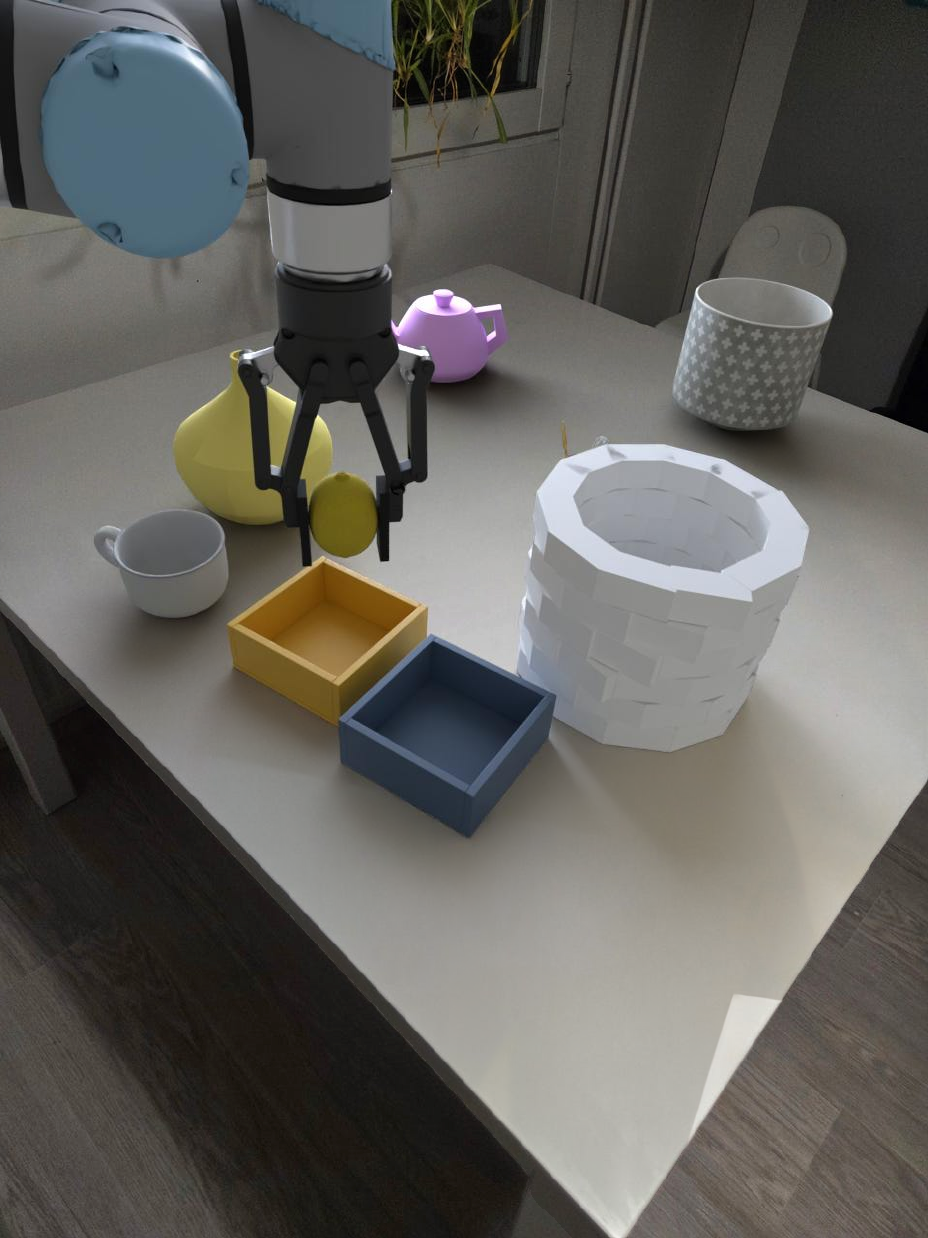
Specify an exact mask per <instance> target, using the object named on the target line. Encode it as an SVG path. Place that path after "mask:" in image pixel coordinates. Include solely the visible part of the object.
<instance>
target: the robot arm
mask: <svg viewBox="0 0 928 1238" xmlns="http://www.w3.org/2000/svg"><path fill="white" fill-rule="evenodd" d="M392 20H393V18H392V1H391V0H0V207H6V208H12V209H18V210H26V211H31V212H35V213H36V212H37V213H40V214H46V215H53V216H59V217H64V218H70V219H77V220H79V221H80V222H81V224H83V225H84V226H85V227H86V228H88V229H89V230H90V231H91V232H93V234H95V235H96V236H97V237H99V238H100V239H101V240H103V241H105V242H107V243H108V244H111V245H112V246H114V247H116V248H118V249H120V250H123V251H125V252H127V253H130V254H131V255H135V256H140V257H143V258H151V259H176V258H183V257H186V256H189V255H192V254H196V253H197V252H200V251H202V250H204V249H205V248H207V247H209V246H210V245H212V244H214V243H215V242H217V241H218V240H219V239H220V238H221V237H222V236H223V235H225V233H226V232H227V231H228V230H229V228H231V226H232V225H233V223H234V222H235V220H236V218H237V217H238V215H239V214H240V211H241V208H242V206H243V203H244V201H245V198H246V194H247V191H248V186H249V182H250V181H249V180H250V177H251V171H250V161H252V160H263V162H264V165H265V170H266V171H265V181H266V196H267V208H268V218H269V230H270V240H271V252H272V255H273V258H275V259H276V260H277V261H278V263H277V264H276V265H275V267H274V270H273V275H274V286H275V298H276V299H275V300H276V310H277V320H278V321H277V322H278V331H277V333H276V336H275V337H274V341H273V345H272V346H269V347H267V348H265V349H261V350H258V351H254V350H252V349H249V348H243V349H240V350H241V351H240V353H239V355H238V375H239V377H240V379H241V382H242V384H243V386H244V388H245V390H246V392H247V394H248V396H249V407H250V421H251V435H252V449H253V463H254V477H255V485H256V487H257V488H258V489H260V490H268V489H273V490H276V491H277V492H279V493H280V495H281V499H282V509H283V519H284V520H283V524H284V526H285V528H286V529H299V538H300V551H301V563H302V564H301V565H302V568H306V567H309V566H312V563H313V560H312V559H313V558H312V546H311V530H310V526H309V517H308V510H309V505H308V503H307V491H306V479H300V477H301V473H302V469H303V465H304V461H305V457H306V453H307V449H308V446H309V442H310V438H311V434H312V430H313V426H314V422H315V419H316V418H317V415H319V411H320V407H321V405H329V404H332V403H337V402H345V403H349V404H360V407H361V410H362V412H363V416H364V417H365V420H366V423H367V426H368V429H369V432H370V435H371V439H372V441H373V444H374V447H375V450H376V452H377V455H378V459H379V462H380V464H381V467H382V468H381V469H382V471H383V473H384V474H381V475H380V474H379V475H375V498H376V502H377V507H378V514H379V522H378V528H377V532H376V547H377V553H378V557H379V562H380V563H385V562H390V523H400V522H401V521H402V519H403V516H404V495H405V493H406V487H407V486H408V485H410V484H411V483H414V482H415V483H417V484H421V483H424V482H425V481H427V479H428V472H429V471H428V390H429V387H430V384H431V383H432V382H431V379H432V376H433V374H434V371H435V365H434V362H433V359H432V357H431V354H430V351H429V349H428V348H427V347H425V346H419V347H417V348H416V349H412V348H409V347H405V346H402V345H399V344H397V340H396V338H395V336H394V335H393V333H392V322H393V271H392V269H391V268H390V267H389V265H388V264H387V263H388V262H389V261H390V260H391V259H392V256H393V189H392V145H393V143H392V141H393V140H392V139H393V103H394V102H393V101H394V99H393V98H394V97H393V96H394V71H396V60H395V57H394V42H393V41H394V40H393V39H394V38H393V21H392ZM253 351H254V352H255V353H254V352H253ZM395 364H397V365H399V372H400V375H401V377H402V380H404V381H405V409H406V410H405V411H406V413H405V414H406V441H407V442H406V445H407V447H406V448H407V449H406V450H407V459H405V460H402V461H399V459H398V456H397V453H396V450H395V445H394V443H393V440H392V438H391V434H390V431H389V428H388V424H387V422H386V419H385V416H384V412H383V409H382V406H381V402H380V400H379V396H378V393H377V390H376V389H377V388H378V386H379V385H381V382H382V381H383V380H384V379H385V377H386V376H387V375H388V374H389V372H390V371H391V369H392V368H393V366H394V365H395ZM278 366H279V367H280V369H282V370H283V372H284V373H285V374H286V375H287V376H288V378H289V379H290V380H291V381H292V382H293V383H294V384H295V385H296V387H297V388H298V390H297V396H296V401H295V402H296V406H295V411H294V415H293V419H292V423H291V427H290V432H289V436H288V440H287V444H286V448H285V453H284V457H283V461H282V465H281V467H277V466H273V465H271V455H270V437H269V419H268V401H267V386H268V385H271V383H273V380H274V370H275V368H276V367H278ZM266 385H267V386H266Z"/></svg>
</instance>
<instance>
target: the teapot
mask: <svg viewBox="0 0 928 1238" xmlns="http://www.w3.org/2000/svg"><path fill="white" fill-rule="evenodd" d="M503 313H504V312H503V310H502V306H501V304H500V303H499V304H491V305H485V306H478V307H474V306H473V305H472V304H471V303H470V302H469V301H468V300H466V299H465V298H462V297H459V296H455V295H454V292H453V291H451V290H449V289H437V290H434V291H433V294H429V295H424V296H421V297H419V298H417V299H416V300H415V301H413V303H412V304H411V306H410V307H409V308H408V310H407V311H406V312H405V314H404V316H403V318H402V319H401V321H400V323H399V325H398V326H396V325H395V323H394V322H393V321H392V333H393V335H394V336H395V338H396V340H397V344H399V345H402V346H405V347H409V348H412V349H416V348H417V347H419V346H425V347H427V348H428V349H429V351H430V354H431V357H432V359H433V362H434V365H435V371H434V374H433V376H432V379H431V382H430V383H442V384H443V383H447V384H449V383H458V382H462V381H463V382H464V381H466V380H469V379H471V378H473V377H474V376H476V375H477V374H478V373H479V372H480V371H481V370H483V368H484V367H485V366H486V364H487V363H488V360H489V357H490V355H492V354H493V353H495V351H497V350H498V349H499V348H501V347H502V346H503V345H504V344H506V343H507V342H508V341H509V340H510V339H509V334H508V329H507V326H506V322H505V317H504V314H503ZM491 318H492V320H493V327H494V331H492V332H491V333H489V334H488V335H487V332H486V330H485V327H484V326H483V323H482V321H483V320H486V319H491Z"/></svg>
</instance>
